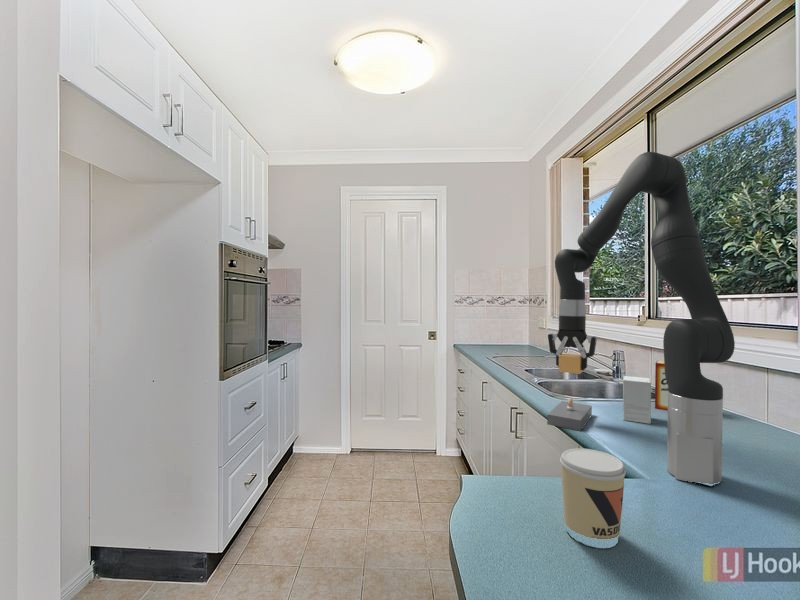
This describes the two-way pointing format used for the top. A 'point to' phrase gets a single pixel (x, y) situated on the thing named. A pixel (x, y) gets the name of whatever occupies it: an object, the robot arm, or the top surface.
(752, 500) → the top surface
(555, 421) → the board
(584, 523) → the coffee cup
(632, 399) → the supplement box
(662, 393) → the baking soda box
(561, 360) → the orange kitchen sponge
